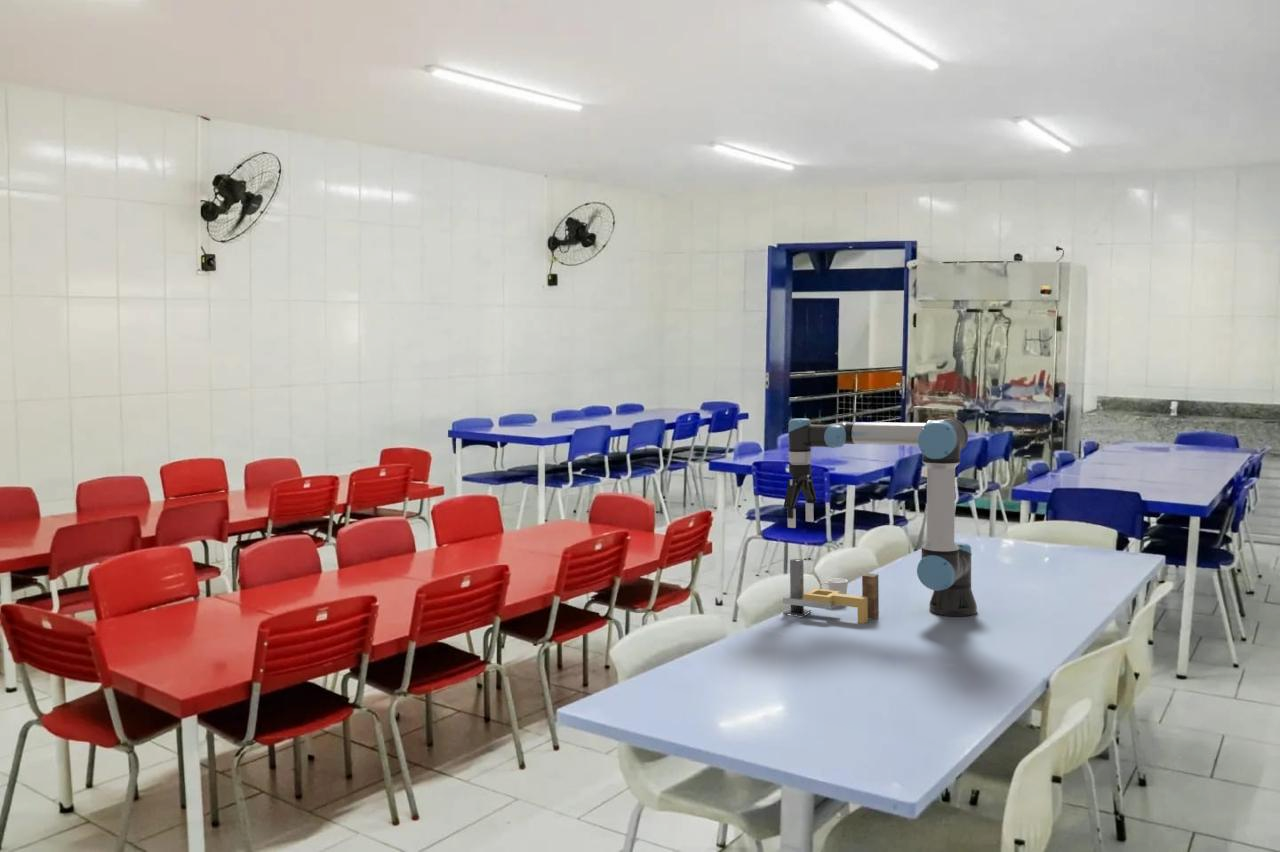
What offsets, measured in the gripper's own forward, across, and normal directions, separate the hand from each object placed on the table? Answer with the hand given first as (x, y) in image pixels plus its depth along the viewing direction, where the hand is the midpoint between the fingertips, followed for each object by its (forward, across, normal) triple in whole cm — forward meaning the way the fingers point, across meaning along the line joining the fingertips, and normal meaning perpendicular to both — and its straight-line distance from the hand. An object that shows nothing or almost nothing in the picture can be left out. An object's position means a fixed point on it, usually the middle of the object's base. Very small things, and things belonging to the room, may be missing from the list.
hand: (800, 524), depth 364 cm
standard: (+28, +13, +10) cm, 32 cm away
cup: (+28, -6, +9) cm, 30 cm away
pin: (+28, +6, +28) cm, 40 cm away
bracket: (+28, +13, +19) cm, 36 cm away
